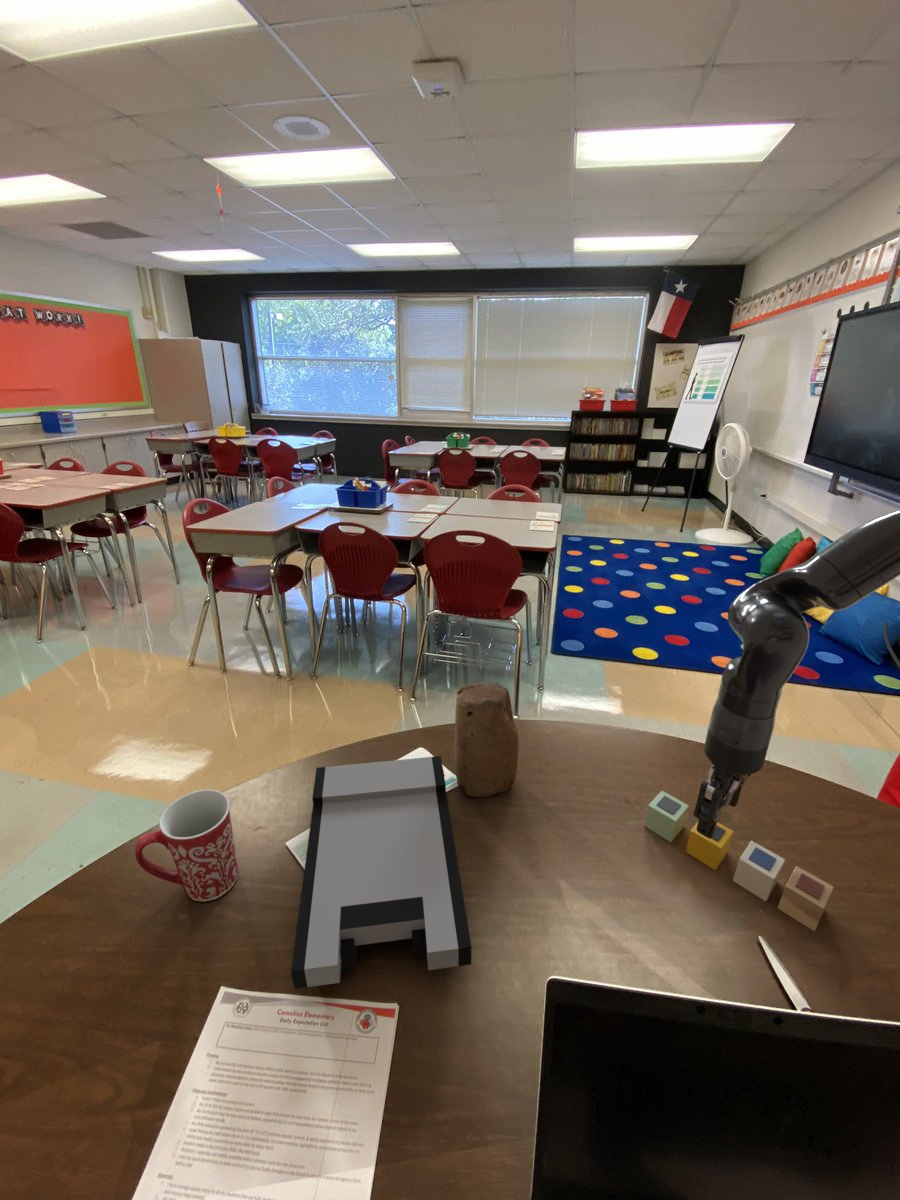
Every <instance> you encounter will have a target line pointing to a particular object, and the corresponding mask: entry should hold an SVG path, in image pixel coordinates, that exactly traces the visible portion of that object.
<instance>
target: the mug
mask: <svg viewBox="0 0 900 1200" xmlns="http://www.w3.org/2000/svg"><path fill="white" fill-rule="evenodd" d="M230 810H231V802H230V799H229V797H228V796H227V794H225V793H224V792H222V791H220V790H217V789H212V788H211V789H210V788H209V789H198V790H195V791H191V792H188V793H186V794H184V795H182V796H180V797H178V798H176V799H175V800H174V801H172V802H170V803H169V804H168V805H167V807H166V808H165V809H164V810H163V811H162V814H161V815H160V818H159V822H158V827H159V830H155V831H150V832H148V833H146V834H143V835H142V836H141V837H140V838H139V839H138V840H137V842H136V844H135V848H134V853H135V854H134V855H135V859H136V862H137V864H138V865H139V866H140V868H141V869H142V870H143V871H145V872H146V873H148V874H149V875H151V876H153V877H155V878H158V879H160V880H163V881H166V882H169V883H172V884H176V885H180V886H182V887H183V889H184V892H185V891H186V892H185V894H186V893H187V894H188V895H189V896H191V897H193V898H196V899H209V898H212V897H215V896H218V895H219V894H221V893H222V892H224V891H225V890H227V889H228V888H229V887H230V886H231V885H232V883H233V882H234V881H235V879H236V877H237V874H238V875H239V866H238V859H237V851H236V844H235V839H234V832H233V824H232V817H231V811H230ZM154 843H157V844H161V845H163V846H164V847H165V849H167V850H168V851H170V854H171V856H172V859H173V862H174V864H175V867H176V870H171V869H168V868H166V867H163V866H160V865H158V864H156V863H153V862H152V861H150V860H149V859H147V858H146V857H145V855H144V854H143V850H144V848H145V847H146V846H148V845H150V844H154ZM187 894H186V895H187Z"/></svg>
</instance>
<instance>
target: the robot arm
mask: <svg viewBox="0 0 900 1200" xmlns="http://www.w3.org/2000/svg"><path fill="white" fill-rule="evenodd" d="M898 577H900V509H898V510H895V511H892V512H889V513H886V514H883V515H880V516H878V517H875V518H873V519H871V520H869V521H866V522H864V523H861V524H860V525H858V526H856V527H855V528H853V529H851V530H849V531H848V532H846V533H845V534H843V535H842V536H840V537H839V538H837V539H836V540H834V541H833V542H831V543H830V544H828V545H827V546H826V547H824V548H823V549H821V550H820V551H818V552H817V553H816V554H814V555H813V556H811V557H810V558H809V559H808V560H806V561H804V562H802V563H800V564H797V565H795V566H792V567H789V568H786V569H785V570H782V571H780V572H778V573H776V574H773V575H771V576H769V577H766V578H763V579H762V580H759V581H757V582H755V583H754V584H752V585H750V586H748V587H747V588H745V589H744V590H743V591H741V592H740V593H739V594H738V595H737V596H736V597H735V598H734V600H733V601H732V602H731V603H730V606H729V608H728V611H727V620H728V624H729V626H730V628H731V629H732V631H733V632H734V634H735V635H737V637H738V639H739V640H740V641H741V642H742V645H743V647H742V653H741V656H736V657H734V658H732V659H731V660H729V661H728V662H727V664H726V665H725V667H724V670H723V672H722V676H721V680H720V685H719V688H718V693H717V697H716V700H715V702H714V705H713V706H712V710H711V714H710V719H709V722H708V723H709V724H708V726H707V727H708V728H707V733H706V736H705V740H704V746H703V750H704V754H705V756H706V758H707V759H708V760H709V761H710V762H711V764H712V765H711V766H710V769H709V770H708V773H707V780H706V781H705V780H704V781H702V782H701V784H700V788H699V790H698V791H699V792H698V796H697V800H696V804H695V808H694V810H693V817H695V818H696V819H698V821H697V822H698V825H697V831H698V832H699V833H700V834H702V835H704V836H705V837H707V838H709V839H711V838H712V837H713V836H714V833H715V829H716V825H717V822H719V819H720V816H721V813H722V811H723V809H724V808H728V807H729V806H730V807H732V808H736V807H737V805H738V804H739V799H740V796H741V791H742V788H744V786H745V785H746V782H747V780H748V779H749V777H751V776H752V775H753V774H756V773H758V772H760V771H761V770H762V768H763V767H764V764H765V760H766V757H767V753H768V750H769V746H770V743H771V741H772V740H771V739H772V736H773V732H774V729H775V724H776V715H777V710H778V706H779V704H780V701H781V700H780V699H781V696H782V693H783V687H784V686H785V685H786V684H787V682H788V681H789V680H790V678H791V677H792V675H793V674H794V672H795V671H796V669H797V668H798V667H799V665H800V663H801V661H802V660H803V658H804V657H805V655H806V653H807V651H808V647H809V643H810V628H809V625H808V621H806V619H805V617H804V616H803V615H802V614H803V613H806V612H808V611H810V610H812V609H816V608H824V609H827V610H830V611H834V612H839V611H844V610H846V609H848V608H851V607H852V606H854V605H855V604H857V603H859V602H860V601H861V600H864V599H865V598H866V597H868V596H870V595H871V594H873V593H874V592H876V591H878V590H879V589H881V588H882V587H884V586H886V585H888V584H889V583H890V582H891V581H893V580H895V579H896V578H898ZM883 638H884V641H885V645H886V647H887V650H888V652H889V654H890V656H891V658H892V660H893V661H894V662H895V664H896V666H897V667H898V668H899V669H900V659H899V658H898V657H897V655H896V653H895V651H894V650H893V647H892V644H891V642H890V639H889V635H888V622H883Z"/></svg>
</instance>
